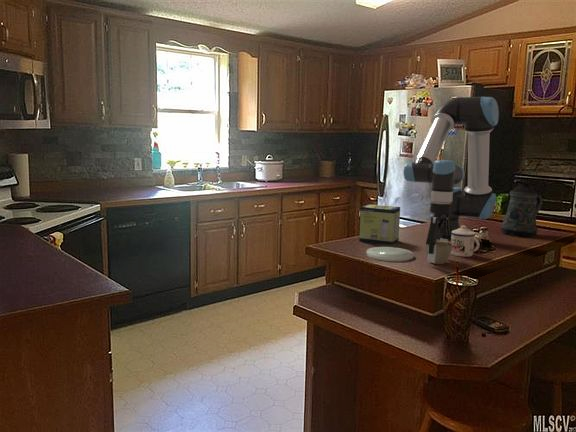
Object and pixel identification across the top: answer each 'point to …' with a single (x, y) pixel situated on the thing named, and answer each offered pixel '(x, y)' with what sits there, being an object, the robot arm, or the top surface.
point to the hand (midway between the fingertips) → (437, 258)
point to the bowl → (441, 251)
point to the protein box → (379, 224)
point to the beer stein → (522, 211)
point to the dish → (390, 254)
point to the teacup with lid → (463, 242)
